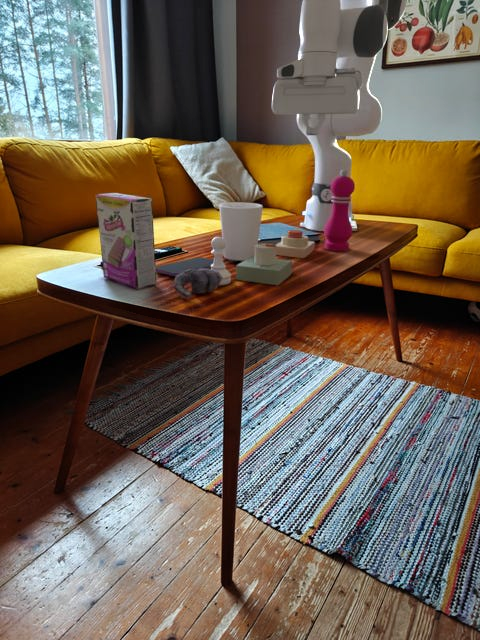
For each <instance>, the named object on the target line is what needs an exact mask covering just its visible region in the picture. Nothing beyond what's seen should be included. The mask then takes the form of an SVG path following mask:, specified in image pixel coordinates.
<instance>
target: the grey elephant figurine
mask: <svg viewBox="0 0 480 640" xmlns="http://www.w3.org/2000/svg"><path fill="white" fill-rule="evenodd" d="M221 280H222V276H221V275H220V273H219V272H218V271H214V270H211V268H210V269H205V268H202V269H201V268H200V269H199V270H194V269H189V270H187V271H184V272H182V273H180V274H179V275H177V276H175V278H174V280H173V287H174V291H175V292H176V293H177V294H178V296H180V297H181V298H183V299H187V298H191V299H192V298H193V293H195V294H197V295H198V294H199V295H200V294H203V293H204V292H206V293H210V292H213V291H214V290H216V289H217V288H219V286H220V285H219V283H220V282H221ZM188 283H190V287H191V288H190V289H191V290H188V289H186V288H185V287H186V285H188Z"/></svg>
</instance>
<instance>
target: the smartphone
mask: <svg viewBox="0 0 480 640" xmlns="http://www.w3.org/2000/svg"><path fill="white" fill-rule="evenodd" d="M213 263H214V259H212V258H207V257H202V256H197V257H193V258H188V259H183V260H179V261H174V262H170V263H165V264H159V265H156V274H157V273H158V274H164V275H167V276H171V277H176V276H177V275H179V274H180V273H182V272H184V271H187V270H189V269H194V270H199V269H200V268H201V269H202V268H205V269H211V265H212V264H213Z"/></svg>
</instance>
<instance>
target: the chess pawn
mask: <svg viewBox="0 0 480 640" xmlns="http://www.w3.org/2000/svg"><path fill="white" fill-rule="evenodd" d="M210 246H211V248H212V250H211V251H210V253H211V254H213V255H214V257H213V260H214V263H213V264H212V265H211V268H210V269H211V270H214V271H218V272H219V273H220V275H221V276H222V280H221V282H220V283H219V285H218V286H226V285H229V284H231V282H232V274H231V272H230V271H229V270H227V268H226V267H227V265H226V264H225V263H224V257H223V255H224V254H225V253H226V252H225V251H224V250H223V249H224V248H225V246H226V242H225V240H224V239H223V238H222V236H215V237H213V238H212V239H211V241H210Z"/></svg>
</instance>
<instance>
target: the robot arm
mask: <svg viewBox="0 0 480 640" xmlns="http://www.w3.org/2000/svg"><path fill="white" fill-rule="evenodd" d="M407 4H408V3H407V0H302V2H301V8H300V17H299V31H298V32H299V39H300V44H299V49H298V53H297V59H296V60H294V61H292V62H290V63H288V64H284V65H282V66H280V67H278V68H277V70H276V77H277V78H278V79H277V81H275V83H274V86H273V91H272V97H271V110H272V112H273V114H274V115H296V124H297V127H298V129H299V130H300V132H301V133H302V134H304V136H305V137H306V138H307V139H308V141H309V143H310V146H311V148H312V151H313V154H314V178H313V179H314V180H313V181H314V182H313V183H312V186H311V195H312V196H311V197H310V198H309V199H308V200H307V201H306V205H305V210H304V211H302V216H304V221H302V222H300V223H299V227H302V228H306V229H308V230H311V231H316V232H317V231H318V232H324V230H325V227H326V224H327V222H328V221H329V219H330V217H331V214H332V210H333V202H332V201H331V200H332V196H333V193H332V192H331V189H330V187H331V183H332V181H333V180H334V179H335V178H337V177H340V176H341V175H340V172H341V171H342V170H346V171H347V172H348V174H347V177H350V178H351V174H352V164H353V161H352V160H353V159H352V157H351V155H350V154H349V152H347V151H346V150H345V149H343V148H341V147H340V146H339V144H338V142H337V137H360V136H361V137H362V136H365V135H371V134H373V133H374V132H375V131H376V130H377V129H378V127H379V126H380V124H381V122H382V118H383V110H382V109H383V108H382V105H381V103H380V101H379V100H378V98H377V97H375V96H374V95H373V94H371V91H370V89H369V83H370V78H371V75H372V71H373V68H374V64H375V61H376V57H377V55H378V54H379V53H380V52H381V51H382V49H384V47H385V44H386V41H387V38H388V33H389V31H390V30H392V29H393V28H395V26H396V25H398V23H399V22H401V19H402V17H403V15H404V13H405V11H406V8H407ZM352 202H353V201H351V203H349V207H348V216H349V220H350V223H351V226H352V232H357V231H358V226H357V221H356V220H354V218H355V215H354V214H353V206H354V204H353V203H352Z"/></svg>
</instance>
